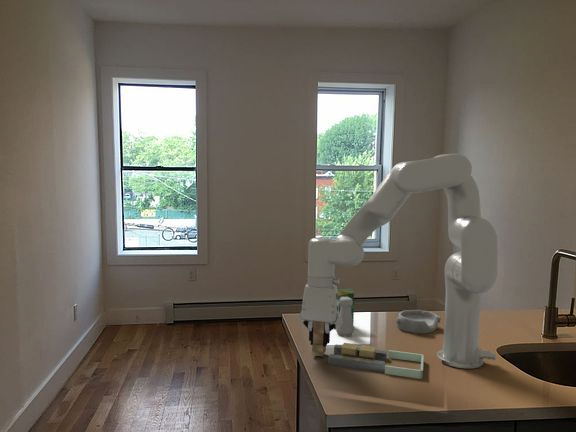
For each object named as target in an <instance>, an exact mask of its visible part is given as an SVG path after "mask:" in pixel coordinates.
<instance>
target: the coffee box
mask: <svg viewBox="0 0 576 432" xmlns="http://www.w3.org/2000/svg"><path fill="white" fill-rule="evenodd" d="M337 290H338V301H340V298H342V297H349V298H351V299H352V300H353V304H352V305H351V313H352V320H353V324H354V322H355V320H354V318H355V317H354V316H355V312H354V311H355V308H354V307H355V305H354V304H355V301H354V300H355V299H354V298H355V290H354V289H353V288H342V289H337ZM340 309H341V305H340V303H339V313H340ZM335 322H336V321H335ZM333 323H334V322H333ZM331 324H332V323H331ZM336 328H337V327H335V328H334V329H336Z"/></svg>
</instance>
